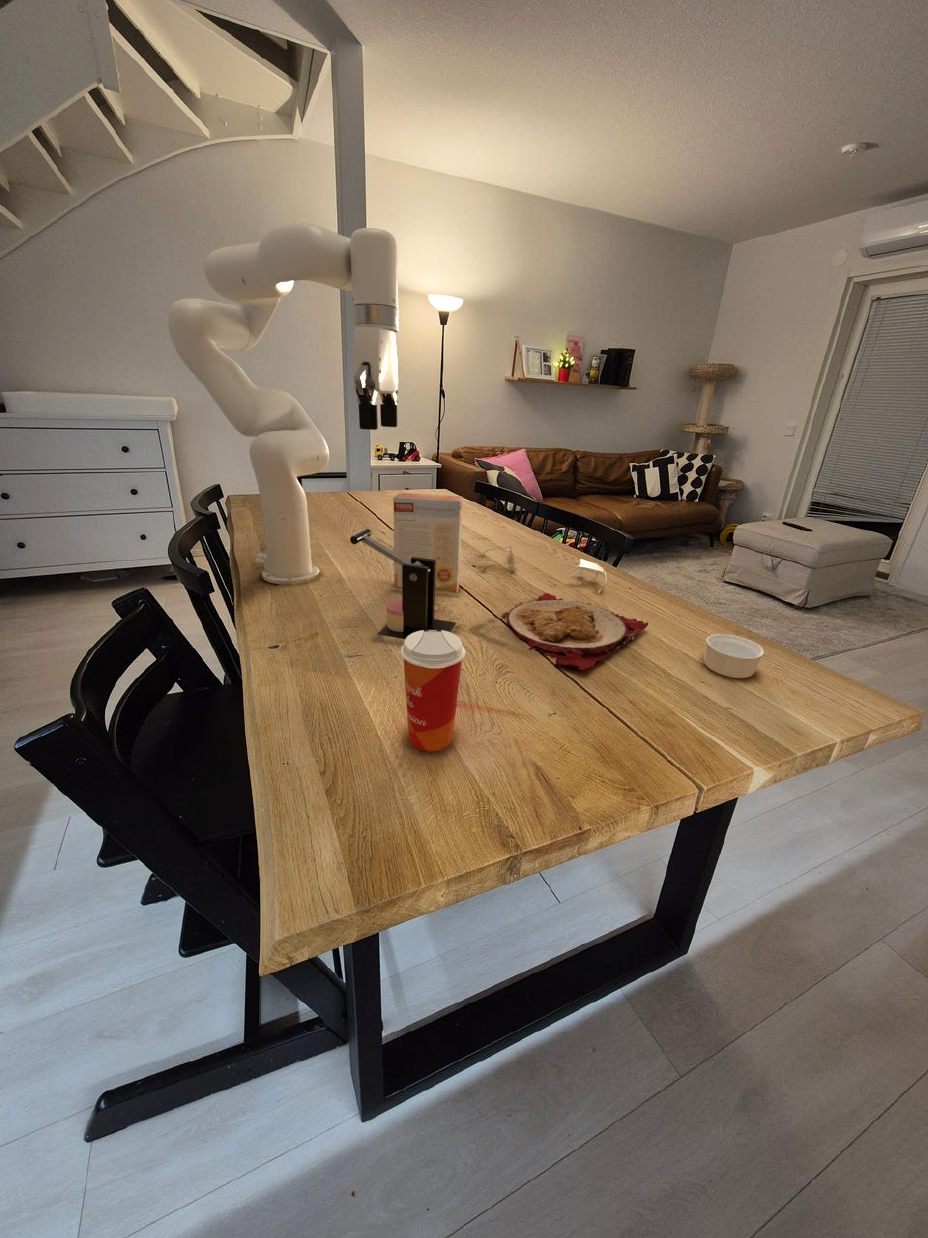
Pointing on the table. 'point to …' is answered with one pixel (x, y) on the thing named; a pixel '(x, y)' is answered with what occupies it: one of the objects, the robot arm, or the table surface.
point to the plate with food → (572, 629)
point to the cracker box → (429, 535)
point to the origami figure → (589, 567)
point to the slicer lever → (380, 547)
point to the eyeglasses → (508, 556)
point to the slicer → (418, 600)
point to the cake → (395, 615)
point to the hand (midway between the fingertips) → (379, 427)
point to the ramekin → (732, 655)
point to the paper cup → (431, 686)
